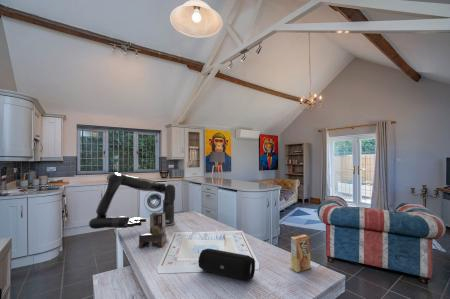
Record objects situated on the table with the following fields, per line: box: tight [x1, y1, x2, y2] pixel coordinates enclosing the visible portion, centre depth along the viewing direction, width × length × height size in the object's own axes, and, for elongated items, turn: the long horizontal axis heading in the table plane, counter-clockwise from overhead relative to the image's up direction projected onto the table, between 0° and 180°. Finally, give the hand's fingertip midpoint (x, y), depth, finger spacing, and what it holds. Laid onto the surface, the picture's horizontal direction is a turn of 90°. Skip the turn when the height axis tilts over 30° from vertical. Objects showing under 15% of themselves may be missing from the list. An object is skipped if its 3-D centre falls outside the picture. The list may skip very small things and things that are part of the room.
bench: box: [138, 233, 167, 249], centre depth 137 cm, size 10×14×8 cm
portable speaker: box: [197, 248, 256, 281], centre depth 101 cm, size 26×10×10 cm, turn 66°
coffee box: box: [149, 211, 167, 234], centre depth 150 cm, size 9×6×16 cm
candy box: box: [290, 234, 311, 273], centre depth 105 cm, size 9×4×15 cm, turn 116°
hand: (143, 222), depth 150 cm, fingers open, 8 cm apart
